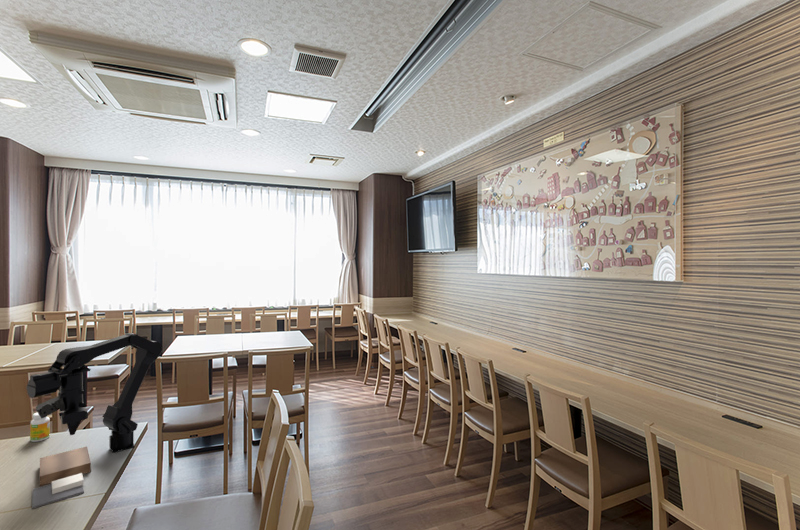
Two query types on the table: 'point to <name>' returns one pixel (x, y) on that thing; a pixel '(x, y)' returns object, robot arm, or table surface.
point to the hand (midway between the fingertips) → (72, 434)
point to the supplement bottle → (39, 428)
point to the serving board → (64, 465)
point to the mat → (52, 495)
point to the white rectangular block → (67, 483)
